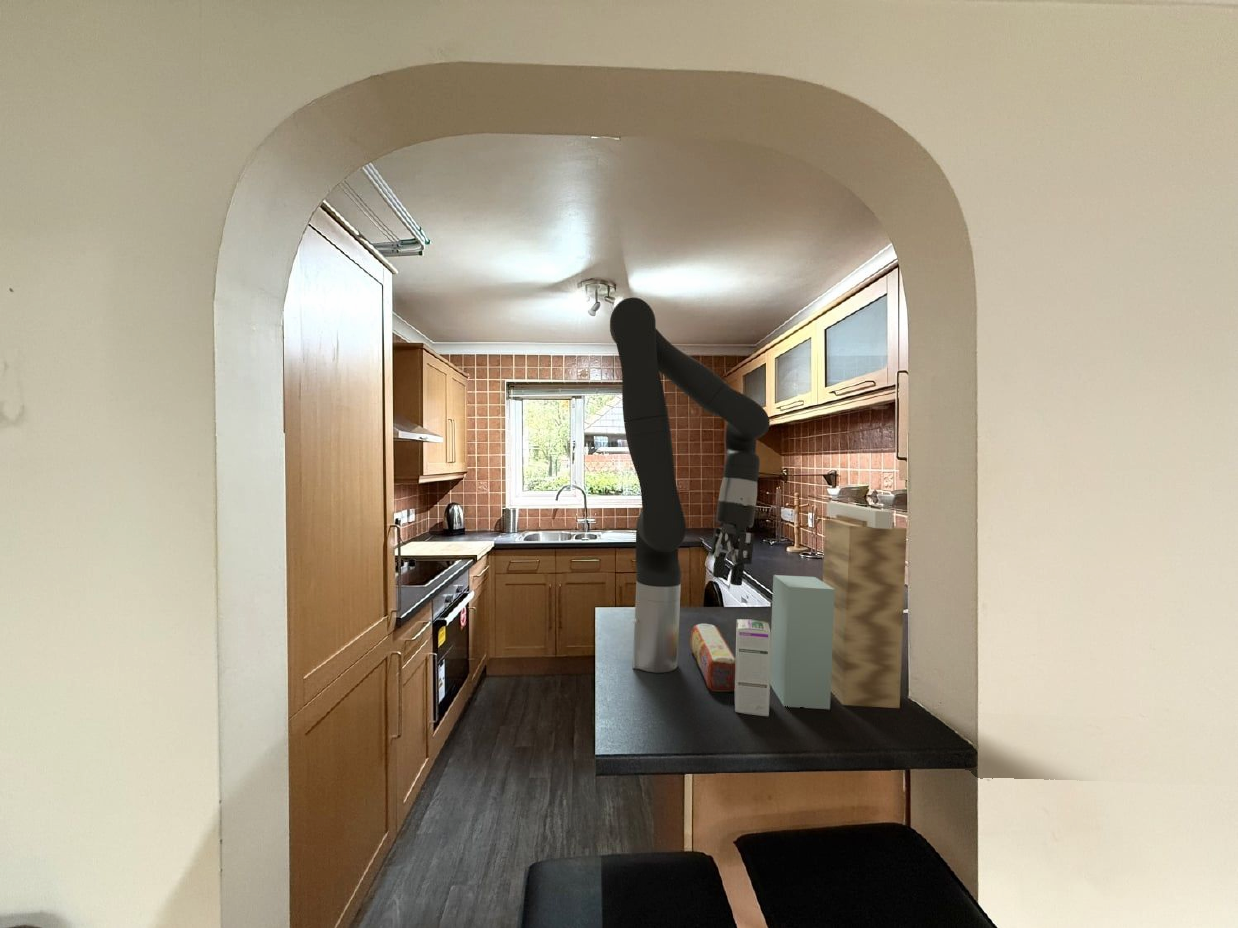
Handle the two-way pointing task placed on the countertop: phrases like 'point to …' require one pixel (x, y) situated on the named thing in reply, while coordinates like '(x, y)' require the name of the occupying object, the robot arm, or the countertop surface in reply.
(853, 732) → the countertop surface
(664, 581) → the robot arm
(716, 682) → the snack package
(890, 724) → the countertop surface
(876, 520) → the bar
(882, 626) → the tall wood-grain block
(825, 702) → the post
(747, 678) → the syrup box
